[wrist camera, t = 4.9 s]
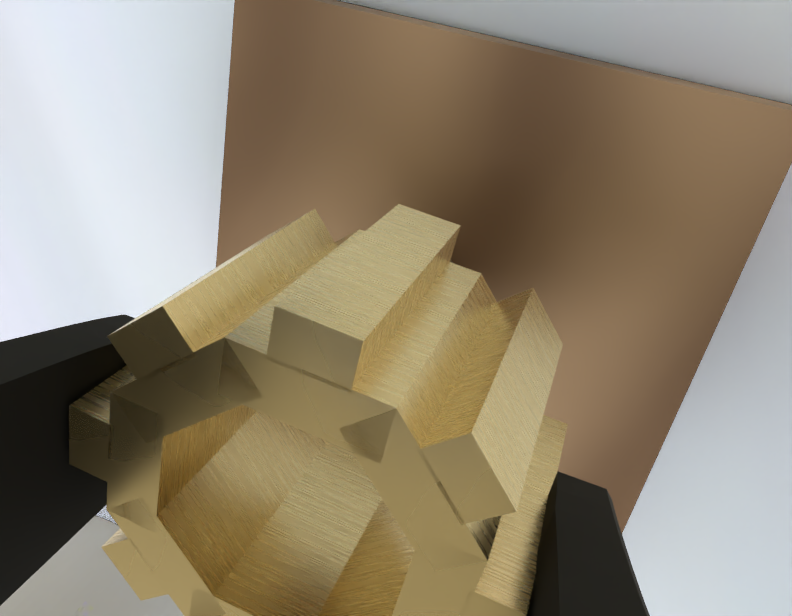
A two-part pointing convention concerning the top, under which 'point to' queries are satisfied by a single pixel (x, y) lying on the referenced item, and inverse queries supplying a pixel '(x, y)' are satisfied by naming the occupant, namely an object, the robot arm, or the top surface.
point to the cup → (84, 583)
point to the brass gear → (330, 431)
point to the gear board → (517, 191)
